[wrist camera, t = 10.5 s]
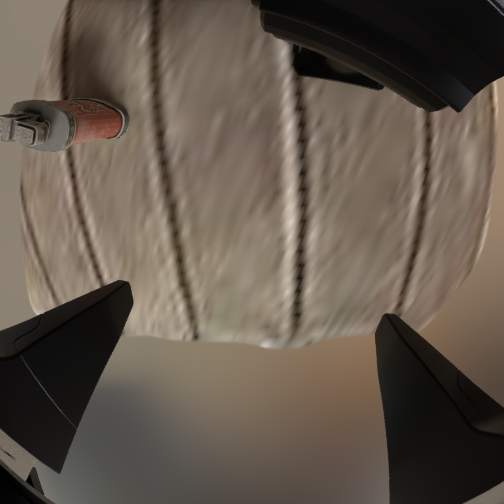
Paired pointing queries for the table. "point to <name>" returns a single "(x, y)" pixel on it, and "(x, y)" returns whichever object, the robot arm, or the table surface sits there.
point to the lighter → (62, 123)
